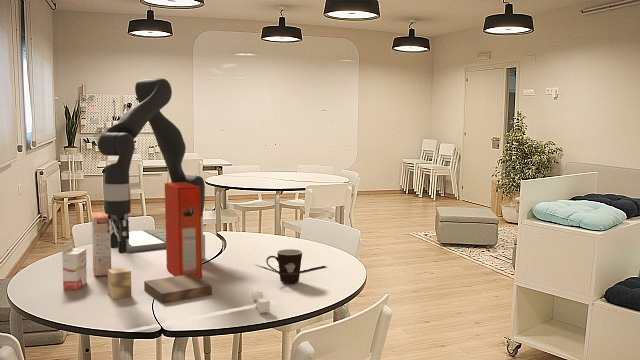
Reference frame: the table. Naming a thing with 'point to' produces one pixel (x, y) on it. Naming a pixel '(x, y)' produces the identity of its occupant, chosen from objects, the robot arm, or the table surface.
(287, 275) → the coffee mug
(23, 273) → the table surface
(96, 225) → the cracker box
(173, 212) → the file binder
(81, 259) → the ink cartridge box
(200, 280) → the walnut base
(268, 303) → the game pieces
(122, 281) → the oak block
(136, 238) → the laptop
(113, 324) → the table surface
